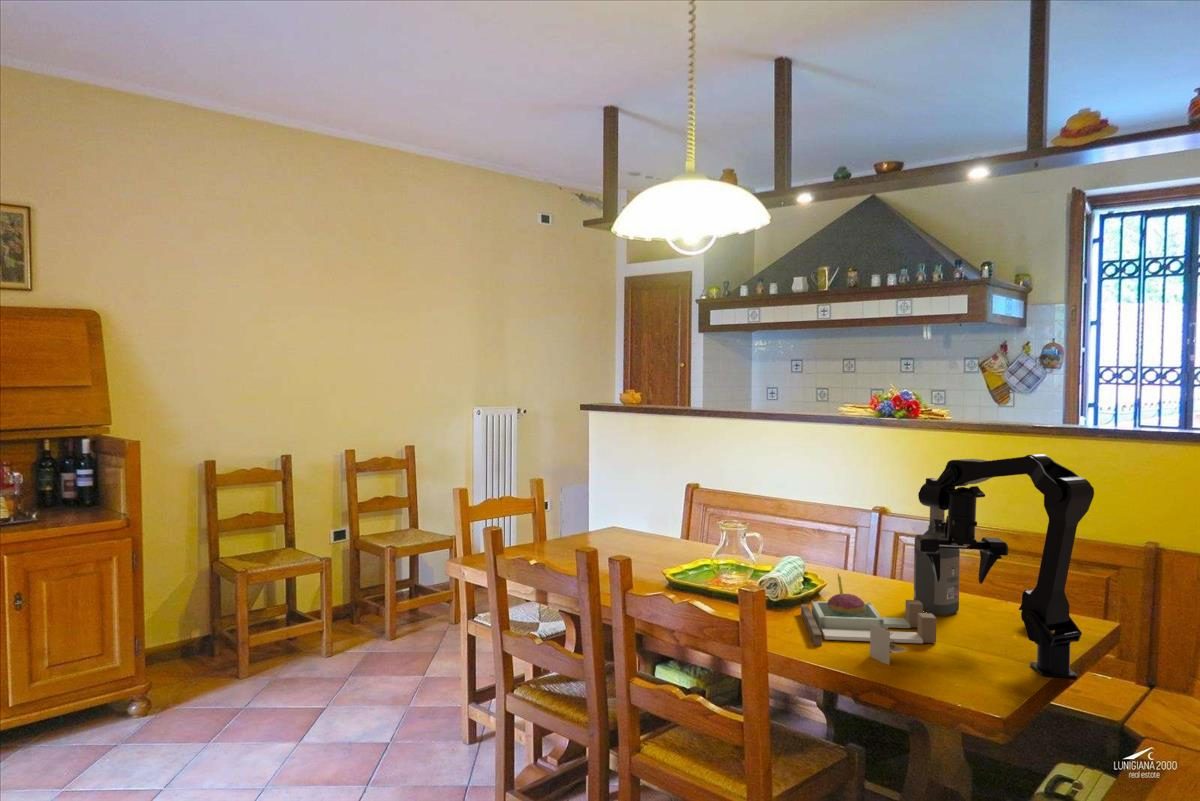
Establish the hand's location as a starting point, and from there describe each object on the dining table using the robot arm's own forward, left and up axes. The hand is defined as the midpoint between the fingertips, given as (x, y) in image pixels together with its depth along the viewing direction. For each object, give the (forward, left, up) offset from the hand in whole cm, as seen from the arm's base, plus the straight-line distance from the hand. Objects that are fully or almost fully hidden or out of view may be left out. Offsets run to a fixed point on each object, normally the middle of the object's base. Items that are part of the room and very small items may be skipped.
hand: (959, 582), depth 177 cm
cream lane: (-5, +19, -12) cm, 23 cm away
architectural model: (-18, +21, -13) cm, 30 cm away
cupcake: (+6, +24, -13) cm, 27 cm away
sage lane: (+6, +19, -12) cm, 23 cm away
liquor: (+20, -1, -13) cm, 23 cm away
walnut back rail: (+1, +33, -12) cm, 35 cm away
